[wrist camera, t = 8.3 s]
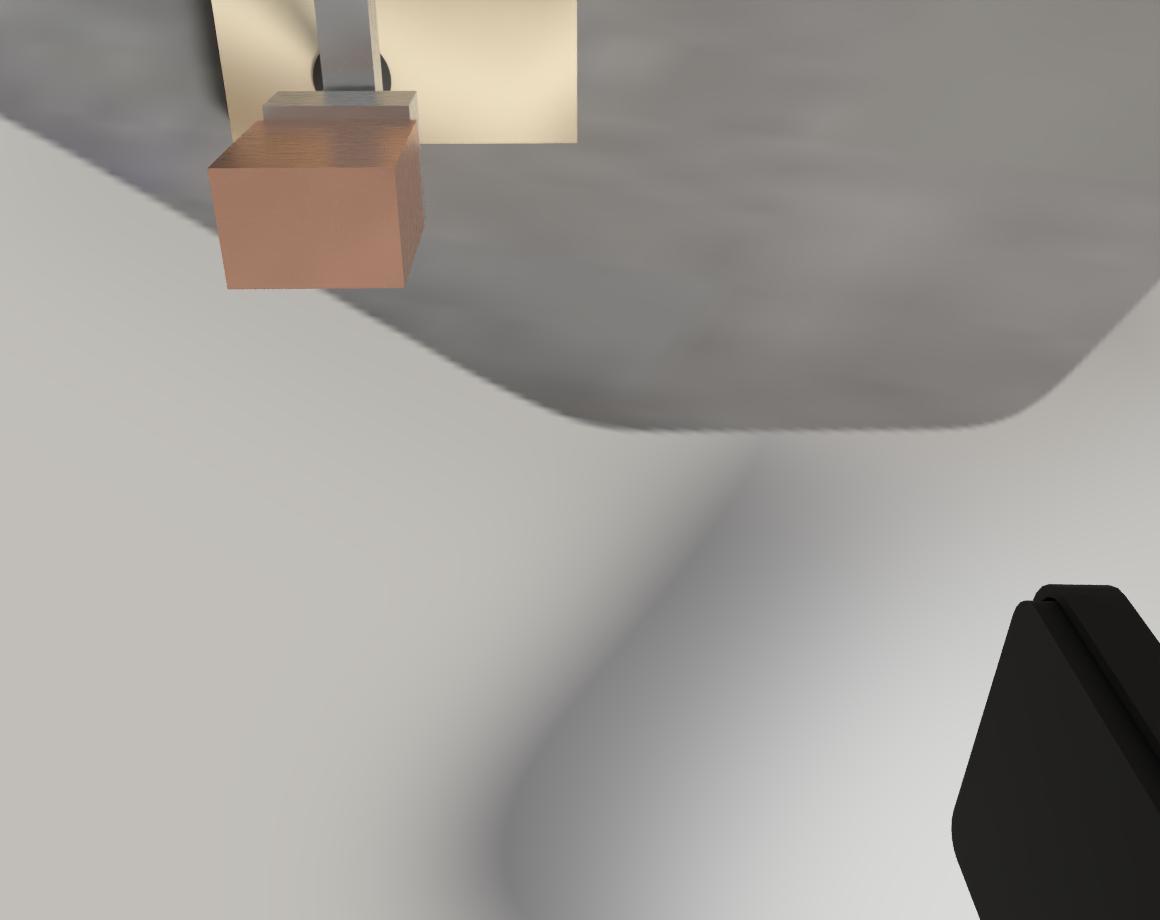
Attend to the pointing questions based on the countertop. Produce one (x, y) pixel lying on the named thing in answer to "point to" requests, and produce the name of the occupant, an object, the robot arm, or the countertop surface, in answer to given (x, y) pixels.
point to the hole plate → (421, 63)
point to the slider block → (322, 192)
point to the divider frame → (348, 45)
